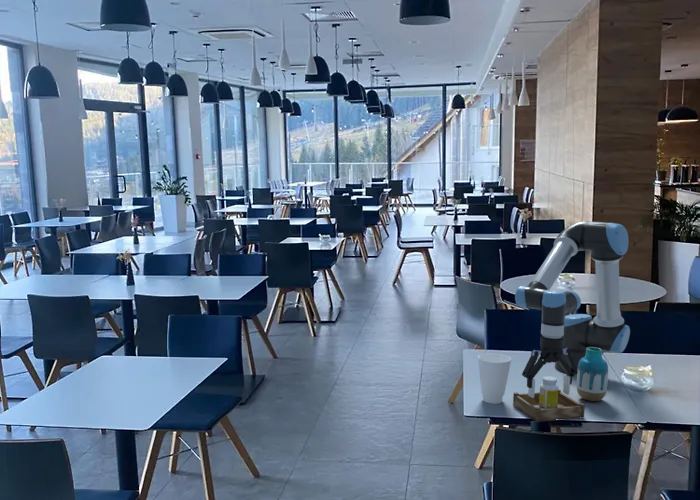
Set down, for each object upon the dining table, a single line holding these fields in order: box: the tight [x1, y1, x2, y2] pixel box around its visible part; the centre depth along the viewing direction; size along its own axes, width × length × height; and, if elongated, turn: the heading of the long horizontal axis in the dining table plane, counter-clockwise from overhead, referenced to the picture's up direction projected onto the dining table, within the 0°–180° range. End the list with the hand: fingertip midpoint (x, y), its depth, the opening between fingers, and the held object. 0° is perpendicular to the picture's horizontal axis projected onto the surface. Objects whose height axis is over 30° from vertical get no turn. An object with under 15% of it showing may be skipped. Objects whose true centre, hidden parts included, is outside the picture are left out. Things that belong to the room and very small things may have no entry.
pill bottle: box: [539, 375, 559, 409], centre depth 231 cm, size 6×6×11 cm
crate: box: [512, 388, 586, 423], centre depth 231 cm, size 18×16×5 cm
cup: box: [477, 352, 512, 405], centre depth 240 cm, size 12×12×16 cm
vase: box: [576, 347, 609, 402], centre depth 243 cm, size 11×11×19 cm
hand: (548, 395), depth 231 cm, fingers open, 13 cm apart
